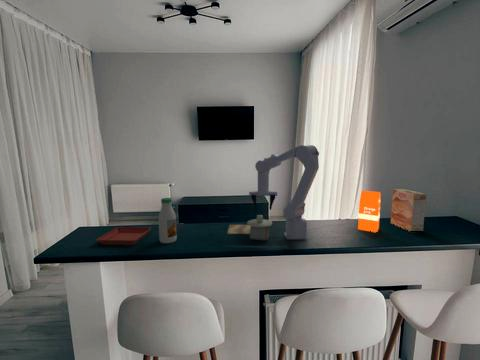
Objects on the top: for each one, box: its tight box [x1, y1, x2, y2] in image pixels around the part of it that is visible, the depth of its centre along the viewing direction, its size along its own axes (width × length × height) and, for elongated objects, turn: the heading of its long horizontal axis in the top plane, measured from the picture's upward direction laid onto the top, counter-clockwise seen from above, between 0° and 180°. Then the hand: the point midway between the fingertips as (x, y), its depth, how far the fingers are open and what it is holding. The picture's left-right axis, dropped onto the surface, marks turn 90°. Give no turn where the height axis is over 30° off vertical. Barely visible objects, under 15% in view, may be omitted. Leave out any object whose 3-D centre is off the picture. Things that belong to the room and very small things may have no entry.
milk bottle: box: [158, 197, 178, 244], centre depth 116 cm, size 8×8×20 cm
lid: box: [246, 214, 273, 227], centre depth 118 cm, size 12×12×4 cm
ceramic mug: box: [249, 226, 270, 241], centre depth 119 cm, size 11×8×8 cm
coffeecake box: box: [390, 188, 427, 232], centre depth 133 cm, size 15×7×20 cm, turn 6°
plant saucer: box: [96, 226, 152, 246], centre depth 120 cm, size 18×18×3 cm
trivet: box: [227, 224, 251, 235], centre depth 130 cm, size 14×14×1 cm
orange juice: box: [357, 190, 381, 233], centre depth 131 cm, size 8×9×20 cm
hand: (263, 209), depth 133 cm, fingers open, 7 cm apart
